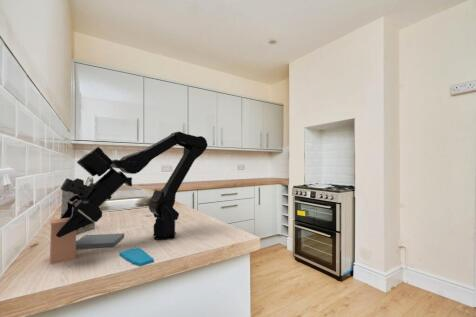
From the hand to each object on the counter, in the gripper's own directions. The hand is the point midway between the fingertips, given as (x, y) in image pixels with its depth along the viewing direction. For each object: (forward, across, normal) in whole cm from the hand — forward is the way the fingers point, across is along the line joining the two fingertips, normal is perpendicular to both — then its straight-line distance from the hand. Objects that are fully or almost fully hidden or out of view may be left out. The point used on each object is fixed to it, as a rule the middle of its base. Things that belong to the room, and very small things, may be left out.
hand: (56, 232), depth 59 cm
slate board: (-3, -8, +13) cm, 16 cm away
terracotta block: (+4, 0, +6) cm, 7 cm away
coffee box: (-1, -28, +11) cm, 30 cm away
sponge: (-6, +12, +17) cm, 22 cm away
